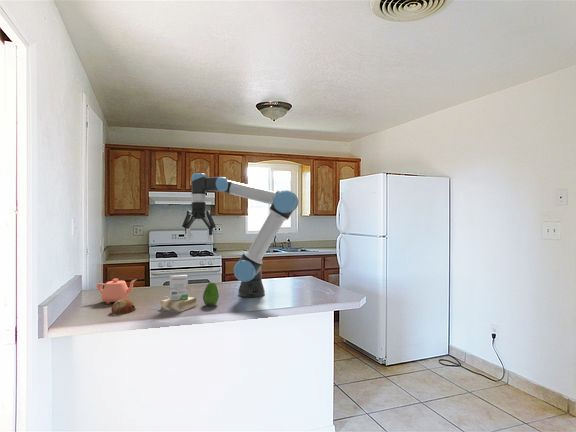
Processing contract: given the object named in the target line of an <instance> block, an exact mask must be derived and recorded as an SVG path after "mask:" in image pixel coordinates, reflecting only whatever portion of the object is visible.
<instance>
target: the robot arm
mask: <svg viewBox="0 0 576 432" xmlns="http://www.w3.org/2000/svg"><path fill="white" fill-rule="evenodd" d="M190 181H191V210H186V216H185V218H184V220H183V223H182V225H181V227H182V228H184V230H185V231H184V234H185V237H186V238H185V240H186V241H191V228H190V227H191V226H192V225H193V223H194V222H195V220H202V222H204V224H205V226H206V227H207V234H206V236H207V239H206V241H207V242H212V236H213V230H214V229H215V228H216V227H217V226H216V224H215V221H214V219H213V217H212V214H211V210H206V207H207V203H206V200H207V198H206V193H207V192H209V191H210V192H220V193H225V194H228V195H232V196H236V197H240V198H245V199H248V200H252V201H256V202H260V203H263V204H266V205H267V204H268V205H270V206H269V214H268V216H267V217H266V220H265V221H264V223H263V224H262V226H261V228H260V229H259V231H258V233H257V234H256V236H255V238H254V240H253V242H252V243H251V245H250V247H249V249H248V250H246V251H244V252H243V254H242V255H241V257H240V258H239V260H238V261H237V262H236V263H235V264H234V266H233V274H234V277H235V278H236V279H237V280H238V281H240V285H239V287H238V294H237V296H239V297H243V298H259V297H263V296H265V293H266V292H265V288H264V285H263V279H262V275H263V273H262V270H263V268H262V267H263V266H262V265H263V258H264V256H265V255H266V253H267V251H268V249H269V248H270V245H271V244H272V243H273V240H274V238H275V237H276V235H277V234H278V232H279V230H280V229H281V228H282V226H283V224H284V222H285V221H287V220H289V219H290V217H291V215H292V213H294V211H295V210H296V209H297V208H298V205H299V199H298V196H297V195H296V194H295V193H294V192H293V191H291V190H288V189H283V190H276V191H275V190H271V189H270V190H269V189H266V188H261V187H258V186H254V185H253V186H252V185H248V184H245V183H242V182H241V183H240V182H237V181H233V180H231V179H230V180H229V179H227V177H225V176H213V177H212V176H211V177H207V176H206V173H202V172H201V173H198V172H195V173H192V174H191V180H190Z"/></svg>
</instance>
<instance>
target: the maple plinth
mask: <svg viewBox="0 0 576 432" xmlns="http://www.w3.org/2000/svg"><path fill="white" fill-rule="evenodd" d="M160 305H161V309H164V310H172V311H180V312H179V313H181V311H182V312H185V311H187V310H190V309H191V308H195V307H196V305H197V297H192V296H191V297H190V296H188V299H187V300H174V301H170V297H168V298H166V299H161V300H160ZM194 306H195V307H194Z"/></svg>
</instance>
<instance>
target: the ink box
mask: <svg viewBox="0 0 576 432" xmlns="http://www.w3.org/2000/svg"><path fill="white" fill-rule="evenodd" d="M188 297H189V276H188V275H187V274H179V275H169V298H170V301H174V300H187V299H188Z"/></svg>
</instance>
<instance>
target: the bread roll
mask: <svg viewBox="0 0 576 432" xmlns="http://www.w3.org/2000/svg"><path fill="white" fill-rule="evenodd" d="M136 310H137V309H136V304H135V303H134V302H133V301H131V300H129V299H128V298H127V299H120V300H118V301H116V302H113V304H112V306H111V313H112V314H113V315H119V314H121V315H122V314H129V313H133V312H134V311H136Z"/></svg>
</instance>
